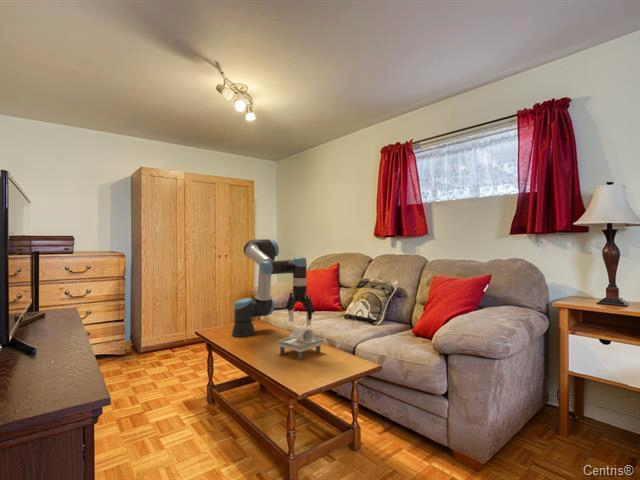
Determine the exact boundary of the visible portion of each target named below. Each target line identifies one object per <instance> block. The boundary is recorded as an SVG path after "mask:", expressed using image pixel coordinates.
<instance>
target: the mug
mask: <svg viewBox="0 0 640 480" xmlns="http://www.w3.org/2000/svg"><path fill="white" fill-rule="evenodd" d="M288 337H290V338H294V339H296V340H298V341H301V342H303V343H306V344H308V343H310V342H311V341H312V340H313V338H314V337H315V333H314V330H312V329H310V328H308V327H307V326H306V327H305V326H303V325H296V326H295V327H294V328H293V330H292V333H290V334H289V335H288Z"/></svg>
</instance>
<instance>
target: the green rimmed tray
mask: <svg viewBox="0 0 640 480" xmlns="http://www.w3.org/2000/svg"><path fill="white" fill-rule="evenodd" d="M323 345H324V338H318V337H315V336H314V338H313V340H312V341H311V342H310V343H308V344H306V343H303V342H301V341H298V340H296V339H294V338H290V337H289V336H288V337H285V338H282V339H279V340H276V346H277V347H279V354H280V355H285V354H286V353H285V349H287V350H292V351H295V352H297V360H298V361H302V360H303V357H304V356H303V355H304V354H303V352H306V351H308V350H312V349H314V348H315V353H316V354H320V353H321V346H323Z"/></svg>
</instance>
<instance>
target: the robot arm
mask: <svg viewBox="0 0 640 480" xmlns="http://www.w3.org/2000/svg"><path fill="white" fill-rule="evenodd" d="M279 248H280V247H279V243H278V242H277V241H276V240H275V239H269V238H267V239H251V240H248V241H247V242H246V243H245V244H244V246H243V249H242V250H243V254H244V255H245V257H246V258H248V259H250V260H252V261H253V262H254V263H256V264H257V265H258V280H257V293H256V295H255V296H254V299H252V297H251V298H250V297H248V298H247V297H246V298H239V299H238V300H236V301H235V302H234V305H233V306H234V308H233V309H234V311H233V312H234V324H233V327H232V331H231V335H232V336H233V337H236V336H237V338H243V337H244V338H245V337H250V336H254V335H255V334H256V329H255V327H254V323H253V318H259V317H267V316H271V315H272V314H273V312H274V311H275V301H274V299H272V296H271V283H272V275H281V274H284V275H285V274H292V284H293V286H292V292H290V293H289V298H288V300H287V302H286V306H285V308H286V309H287V311H288V316H289V317H288V322H289V323H292V322H294V320H295V319H294V312H295V311H294V307H296V304H297V303H301V304H302V305H303V308H304V309H305V311H306V316H305V317H306V327H310V326H311V325H312V319H313V317H312V316H313V315H312V314H313V313H315V311H316V310H315V308H314V305H313V302H312V299H311V295H310V294H307V282H308V281H307V269H308V268H307V266H308V264H307V259H306V257H304V256H303V257H302V256H298V257H293V259H285V260H284V259H283V260H276V258H277V257H278V256H279V253H280V249H279Z"/></svg>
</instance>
